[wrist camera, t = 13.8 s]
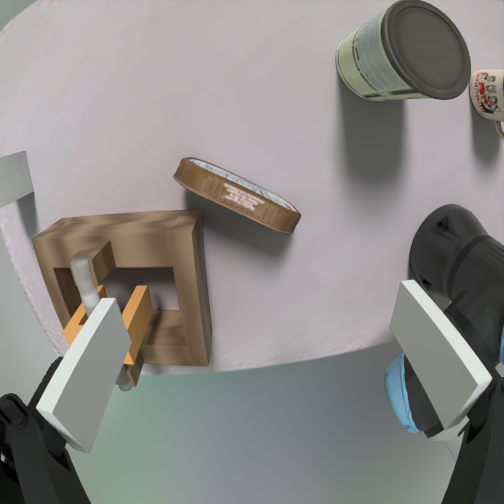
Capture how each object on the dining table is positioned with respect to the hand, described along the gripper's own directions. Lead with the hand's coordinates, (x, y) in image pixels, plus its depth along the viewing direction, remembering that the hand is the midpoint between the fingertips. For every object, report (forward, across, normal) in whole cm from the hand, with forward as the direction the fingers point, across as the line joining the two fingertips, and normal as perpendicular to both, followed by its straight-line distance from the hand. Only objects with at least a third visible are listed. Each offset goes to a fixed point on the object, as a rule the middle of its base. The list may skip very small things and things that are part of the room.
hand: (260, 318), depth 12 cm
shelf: (+26, +18, +12) cm, 33 cm away
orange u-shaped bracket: (+20, +18, +12) cm, 29 cm away
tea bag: (+25, +35, -7) cm, 44 cm away
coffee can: (+26, -16, -17) cm, 35 cm away
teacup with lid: (+26, -39, -16) cm, 50 cm away
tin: (+26, +1, -1) cm, 26 cm away
